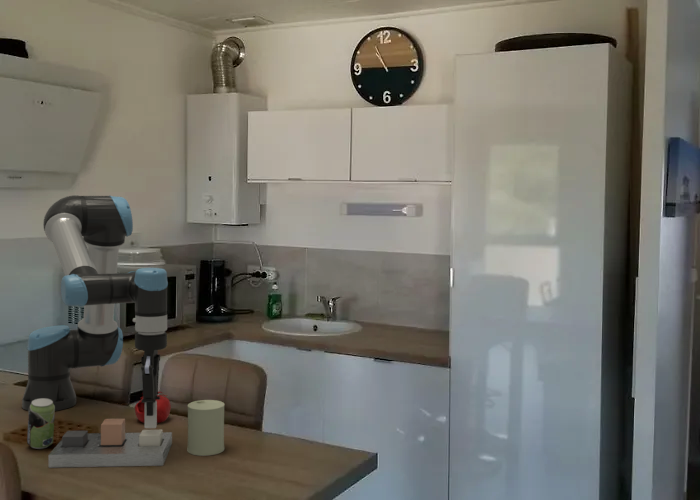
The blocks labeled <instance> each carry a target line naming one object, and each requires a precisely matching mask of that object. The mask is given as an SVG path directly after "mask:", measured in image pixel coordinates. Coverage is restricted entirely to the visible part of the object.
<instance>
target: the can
mask: <svg viewBox="0 0 700 500" xmlns="http://www.w3.org/2000/svg"><path fill="white" fill-rule="evenodd" d="M225 405H226V404H225V403H224V401H223V402H222V401H221V400H216V399H203V400H202V399H201V400H200V399H199V400H195V401H192V402H189V403H188V404H187V449H186V450H187V451H186V452H187V454H188V453H189V454H190V455H193V456H200V457H205V456H206V457H207V456H215V455H218V454H221V453H222V452H224V451H225Z"/></svg>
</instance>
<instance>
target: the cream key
mask: <svg viewBox="0 0 700 500" xmlns="http://www.w3.org/2000/svg"><path fill="white" fill-rule="evenodd" d="M162 432H163V429H142V431H141V432H140V433H141V434H140V435H139V446H161V445H162Z"/></svg>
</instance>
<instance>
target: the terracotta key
mask: <svg viewBox="0 0 700 500" xmlns="http://www.w3.org/2000/svg"><path fill="white" fill-rule="evenodd" d="M100 433H101V445H122V443H123V442H124V440H125V433H126V418H104V420H103V421H102V423H101V424H100Z"/></svg>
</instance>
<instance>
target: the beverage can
mask: <svg viewBox="0 0 700 500" xmlns="http://www.w3.org/2000/svg"><path fill="white" fill-rule="evenodd" d="M55 415H56V414H55V406H54V404H53V401H52V400H50V399H46V398H40V399H35V400H33V401H32V403H31V405H30V406H29V411H28V417H27V439H26V441H27V442H26V444H27V445H28V446H29V447H31V448H32V449H35V450H36V449H37V450H43V449H46V448H48V447H50V446H51V445H52V444H53V443H54V434H55V433H54V432H55V430H54V429H55Z"/></svg>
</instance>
